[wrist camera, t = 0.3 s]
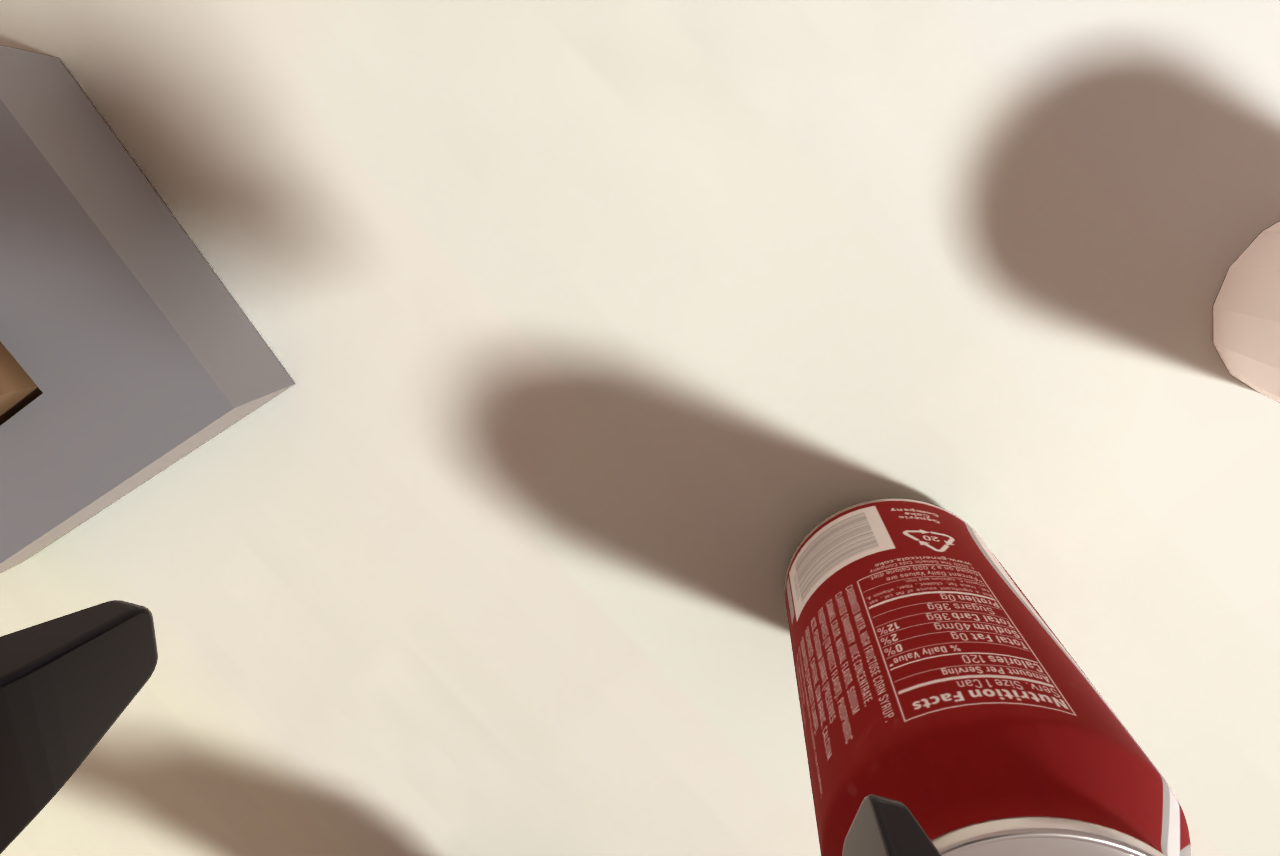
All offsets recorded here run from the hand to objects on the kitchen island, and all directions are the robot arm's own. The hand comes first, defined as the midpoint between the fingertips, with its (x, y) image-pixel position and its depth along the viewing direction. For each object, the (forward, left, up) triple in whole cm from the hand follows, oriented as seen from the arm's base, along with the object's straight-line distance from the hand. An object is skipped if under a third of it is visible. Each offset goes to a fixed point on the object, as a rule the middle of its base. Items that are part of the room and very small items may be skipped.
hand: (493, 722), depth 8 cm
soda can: (-4, -10, -15) cm, 18 cm away
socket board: (-4, +22, -14) cm, 27 cm away
